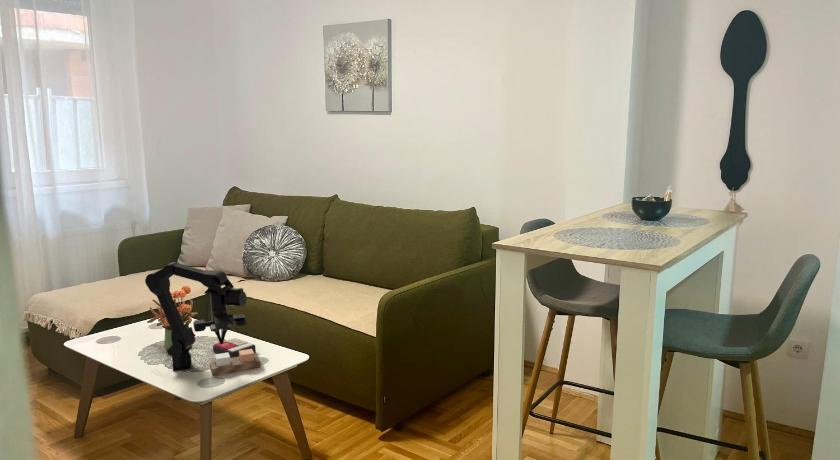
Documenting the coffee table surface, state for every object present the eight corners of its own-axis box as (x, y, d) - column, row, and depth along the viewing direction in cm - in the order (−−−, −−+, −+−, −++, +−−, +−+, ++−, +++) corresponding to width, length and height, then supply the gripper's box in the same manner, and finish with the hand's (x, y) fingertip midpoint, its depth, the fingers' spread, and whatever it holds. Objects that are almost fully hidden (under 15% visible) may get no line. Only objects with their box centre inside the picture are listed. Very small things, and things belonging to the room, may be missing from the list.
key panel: (212, 376, 234) (211, 369, 233) (210, 368, 241) (209, 361, 240) (260, 368, 241) (260, 360, 241) (257, 360, 248) (256, 353, 248)
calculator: (235, 336, 266) (255, 343, 256) (236, 346, 267) (256, 353, 257) (212, 343, 258) (232, 350, 248) (213, 353, 259) (233, 361, 249)
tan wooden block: (241, 365, 239) (240, 355, 239) (239, 360, 244) (238, 350, 243) (254, 362, 241) (254, 353, 241) (252, 358, 246) (251, 348, 245)
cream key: (217, 369, 236) (216, 359, 235) (215, 364, 240) (214, 354, 239) (230, 366, 238) (230, 356, 237) (228, 362, 242) (228, 352, 241)
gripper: (194, 314, 223) (197, 355, 226) (247, 307, 231) (249, 347, 234) (191, 305, 233) (195, 345, 236) (242, 299, 241) (245, 337, 244)
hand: (221, 344), depth 237 cm, fingers closed
